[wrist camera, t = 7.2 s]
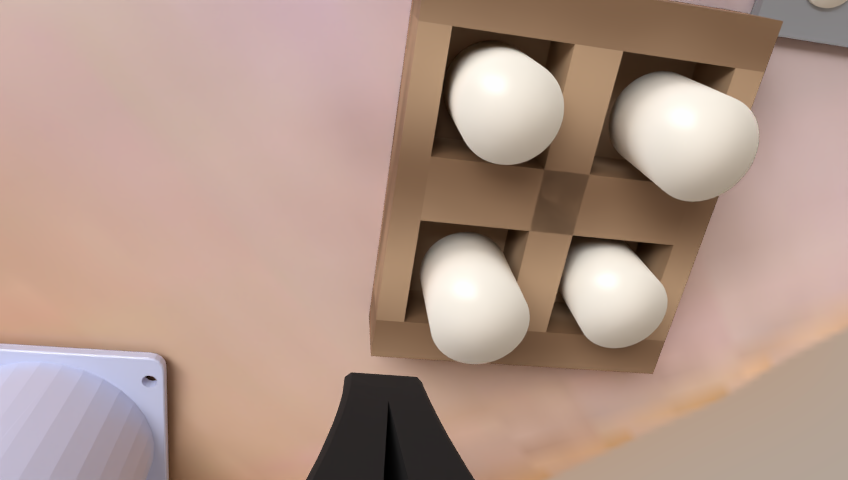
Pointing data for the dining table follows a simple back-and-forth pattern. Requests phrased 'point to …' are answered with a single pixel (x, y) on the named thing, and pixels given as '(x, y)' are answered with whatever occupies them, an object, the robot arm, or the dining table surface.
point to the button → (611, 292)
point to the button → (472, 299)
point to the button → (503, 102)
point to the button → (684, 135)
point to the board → (550, 163)
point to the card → (808, 19)
